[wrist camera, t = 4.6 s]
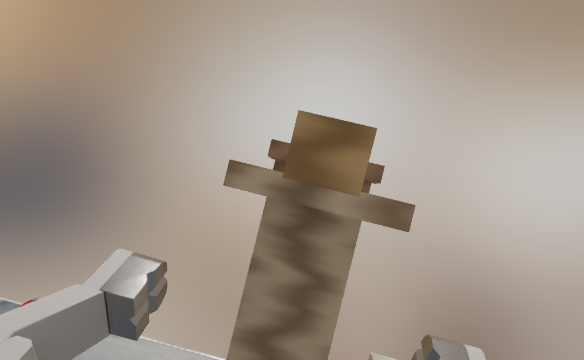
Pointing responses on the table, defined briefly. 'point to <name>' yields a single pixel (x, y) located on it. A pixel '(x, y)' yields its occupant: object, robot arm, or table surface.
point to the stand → (301, 259)
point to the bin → (379, 357)
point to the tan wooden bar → (329, 153)
